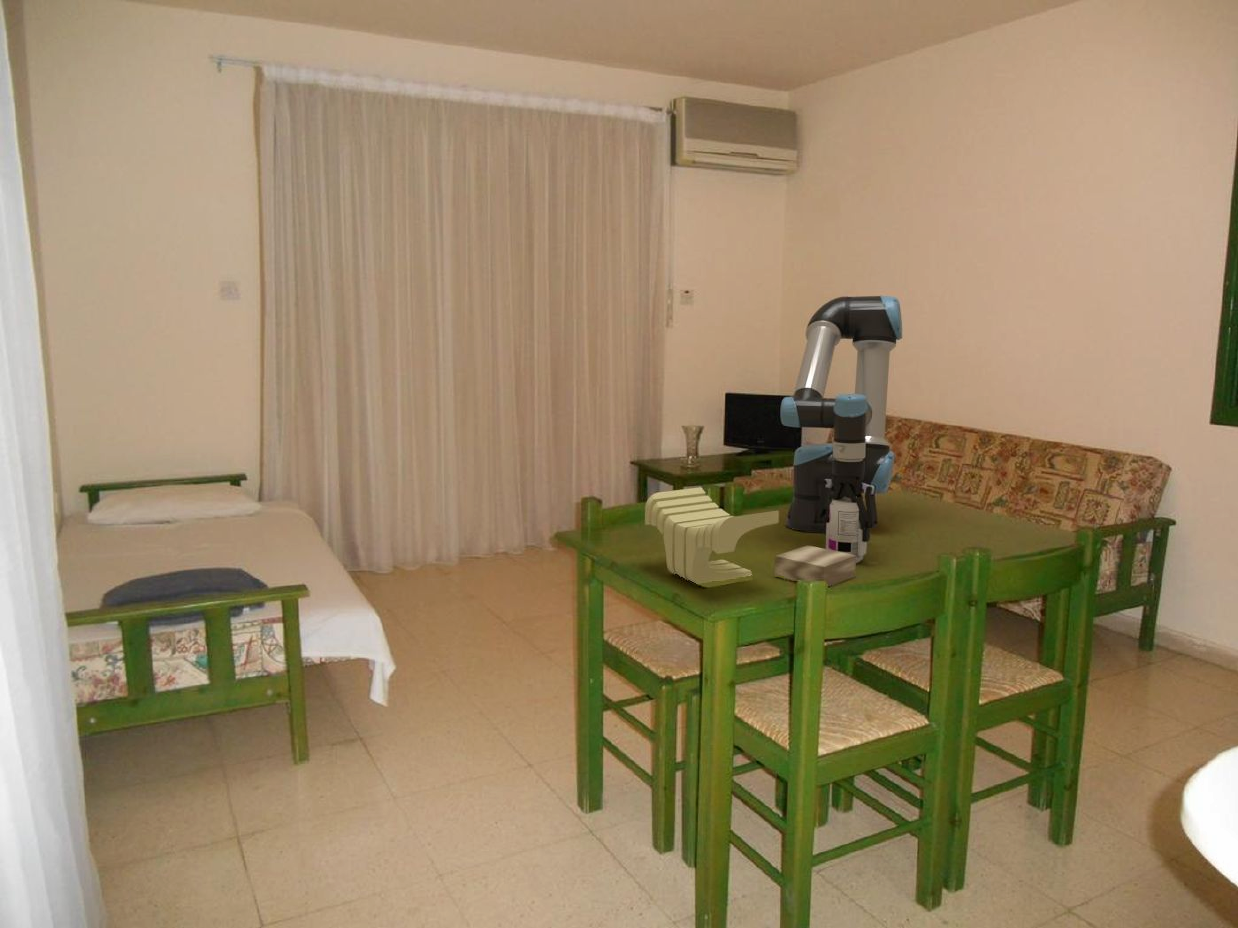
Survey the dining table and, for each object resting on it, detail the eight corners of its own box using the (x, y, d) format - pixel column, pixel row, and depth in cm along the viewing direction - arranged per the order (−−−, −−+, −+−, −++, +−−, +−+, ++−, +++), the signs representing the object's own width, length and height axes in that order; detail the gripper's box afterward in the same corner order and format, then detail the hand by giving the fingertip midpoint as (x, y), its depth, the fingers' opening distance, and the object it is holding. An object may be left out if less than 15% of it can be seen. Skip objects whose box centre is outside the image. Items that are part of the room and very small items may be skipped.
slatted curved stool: (645, 566, 220) (645, 494, 217) (700, 557, 227) (701, 487, 224) (716, 601, 194) (717, 518, 191) (777, 589, 201) (778, 510, 198)
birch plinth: (774, 577, 211) (775, 555, 210) (807, 565, 220) (807, 545, 219) (823, 588, 202) (824, 566, 201) (855, 576, 211) (855, 555, 210)
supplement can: (821, 560, 224) (823, 500, 222) (840, 553, 230) (842, 495, 227) (851, 566, 218) (853, 505, 216) (869, 559, 224) (871, 499, 222)
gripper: (802, 456, 225) (800, 546, 229) (880, 466, 210) (876, 562, 214) (820, 452, 230) (817, 540, 234) (896, 462, 215) (892, 555, 219)
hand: (845, 550), depth 224 cm, fingers closed on supplement can, 8 cm apart
